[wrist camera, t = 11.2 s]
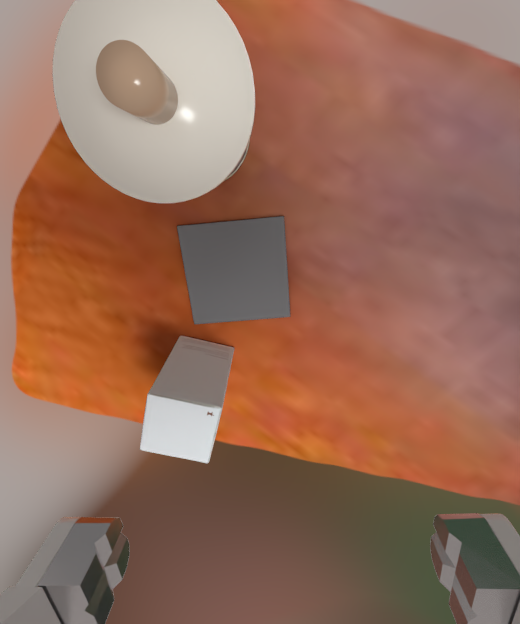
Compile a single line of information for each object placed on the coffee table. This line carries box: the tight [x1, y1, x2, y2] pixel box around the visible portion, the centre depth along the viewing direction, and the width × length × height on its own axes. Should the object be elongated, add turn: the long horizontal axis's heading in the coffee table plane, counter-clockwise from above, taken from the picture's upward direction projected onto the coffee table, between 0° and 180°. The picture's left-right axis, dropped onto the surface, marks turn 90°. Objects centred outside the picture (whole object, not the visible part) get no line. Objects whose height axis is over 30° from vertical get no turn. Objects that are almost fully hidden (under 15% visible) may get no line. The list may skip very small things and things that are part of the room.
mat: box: [177, 216, 290, 324], centre depth 39 cm, size 12×12×1 cm
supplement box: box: [140, 336, 234, 463], centre depth 38 cm, size 7×7×13 cm
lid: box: [53, 0, 255, 203], centre depth 18 cm, size 12×12×6 cm
